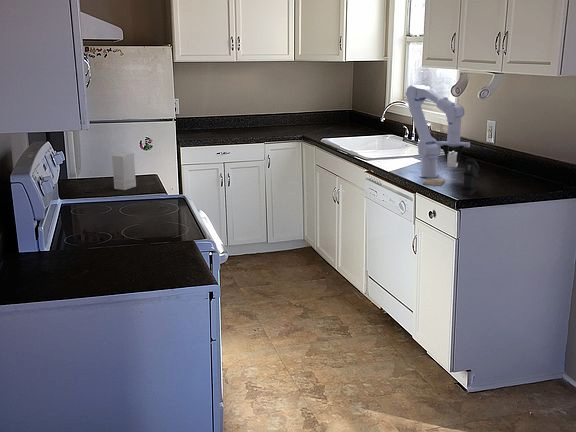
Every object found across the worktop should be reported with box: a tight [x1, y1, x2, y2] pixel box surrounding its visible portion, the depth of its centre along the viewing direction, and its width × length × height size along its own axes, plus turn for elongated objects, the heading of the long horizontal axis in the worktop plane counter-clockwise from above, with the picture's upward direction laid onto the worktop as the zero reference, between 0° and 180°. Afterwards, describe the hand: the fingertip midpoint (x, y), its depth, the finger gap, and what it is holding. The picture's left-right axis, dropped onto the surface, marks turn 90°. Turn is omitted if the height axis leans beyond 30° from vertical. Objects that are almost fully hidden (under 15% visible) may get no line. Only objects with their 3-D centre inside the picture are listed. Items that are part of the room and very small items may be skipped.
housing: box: [446, 150, 459, 168], centre depth 301 cm, size 6×4×7 cm, turn 159°
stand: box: [422, 177, 445, 187], centre depth 299 cm, size 8×8×2 cm
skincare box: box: [111, 152, 137, 191], centre depth 297 cm, size 8×7×16 cm
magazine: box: [461, 158, 481, 197], centre depth 278 cm, size 4×13×15 cm, turn 151°
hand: (452, 162), depth 302 cm, fingers closed on housing, 4 cm apart
